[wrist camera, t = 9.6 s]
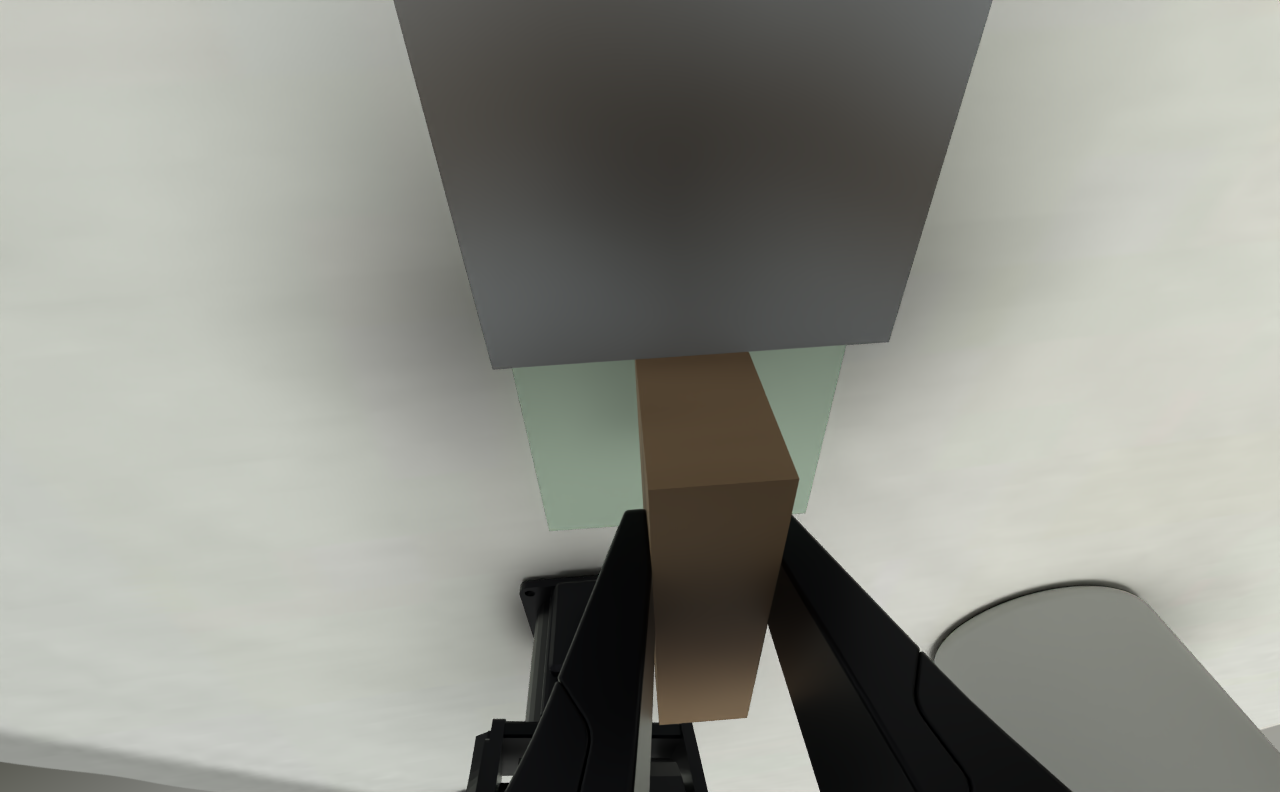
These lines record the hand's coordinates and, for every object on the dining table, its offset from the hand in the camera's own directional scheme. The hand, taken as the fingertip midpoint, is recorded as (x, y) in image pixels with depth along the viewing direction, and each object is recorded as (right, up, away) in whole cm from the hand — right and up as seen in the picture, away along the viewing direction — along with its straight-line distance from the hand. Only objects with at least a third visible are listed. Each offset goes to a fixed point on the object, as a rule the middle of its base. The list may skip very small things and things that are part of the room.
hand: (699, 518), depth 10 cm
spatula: (0, +3, +1) cm, 3 cm away
